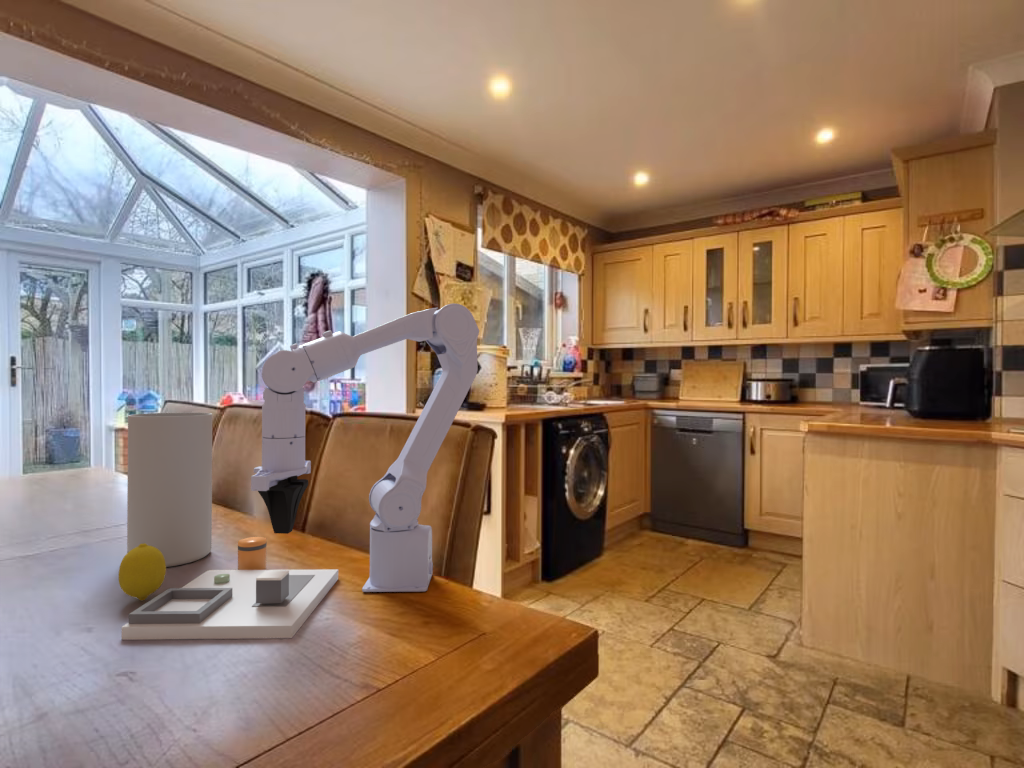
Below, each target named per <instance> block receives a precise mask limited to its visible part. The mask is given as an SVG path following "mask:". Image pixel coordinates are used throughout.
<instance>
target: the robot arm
mask: <svg viewBox="0 0 1024 768" xmlns="http://www.w3.org/2000/svg"><path fill="white" fill-rule="evenodd" d="M321 335H322V337H320V338H317V339H314V340H311V341H309V342H306V343H303V344H300V345H298V343H294V344H291V345H290V346H289V348H290V350H289V349H288V350H286V349H284V350H282V349H281V350H278V351H277V352H276V353H274V354H271V355H270V356H269V357H268V358H266V360H265V361H264V363H263V365H262V369H261V378H262V381H263V383H264V384H265V386H266V387H264V389H263V391H262V399H263V404H262V406H261V466H260V465H259V466H256V467H254V468H253V473H254V475H251V476H250V491H251V492H256V491H257V492H258V494H259V495H260V497H261V498H262V500H263V501H264V505H266V509H267V511H268V514H269V515H268V516H269V519H270V523H271V526H272V531H273V534H279V535H280V534H290V533H291V532H293V528H294V526H295V522H296V518H297V514H298V509H299V506H300V504H301V503H300V502H301V500H302V498H303V495H304V494H305V491H306V489H307V488H308V486H309V479H304V478H303V479H302V478H301V479H300V478H298V477H299V476H301V475H308V474H311V471H312V468H311V467H312V466H311V465H312V462H311V460H306V408H307V407H306V404H305V403H304V400H305V399H304V398H305V396H304V395H305V394H304V391H305V390H304V389H305V388H304V387H305V385H306V383H307V382H312V383H317V382H320V381H323V380H326V379H328V378H330V377H332V376H333V377H334V376H335V375H339V374H341V373H344V372H345V371H348V370H351V369H353V368H355V367H356V366H357V363H358V362H359V358H360V357H361V356H362V355H364V354H367V353H370V352H373V351H376V350H379V349H382V348H384V347H385V348H386V347H388V346H390V345H393V344H396V343H398V342H402V341H404V340H410V341H414V342H421V343H422V342H426V343H427V344H428V346H429V347H430V348H431V350H432V351H434V353H435V355H436V356H437V360H438V361H439V364H440V367H441V369H442V371H441V374H440V376H439V378H438V380H437V382H436V384H435V385H434V388H433V390H432V392H431V393H430V395H429V397H428V399H427V401H426V403H425V406H424V407H423V409H422V410H421V413H420V415H419V416H418V418H417V421H416V422H415V424H414V426H413V428H412V430H411V432H410V434H409V436H408V438H407V439H406V442H405V444H404V446H403V447H402V449H401V451H400V454H399V456H397V459H396V460H395V461H394V462H392V464H391V465H390V466H389V467H388V469H387V471H386V473H384V475H383V476H382V477H381V478H380V479H379V480H377V481H376V482H375V483H374V484H373V485H372V486H371V488H370V492H369V494H368V495H369V496H368V501H369V505H370V507H371V509H372V510H373V512H375V514H374V516H373V518H372V519H371V521H370V522H369V577H368V579H367V580H366V582H365V583H364V585H363V586H362V588H361V591H362V592H364V593H370V592H371V593H372V592H373V593H377V592H379V593H382V592H383V593H385V592H387V593H388V592H389V593H392V592H394V593H396V592H397V593H398V592H399V593H401V592H402V593H404V592H405V593H406V592H417V593H418V592H426V591H428V588H429V585H430V582H431V579H432V576H433V567H434V565H433V527H432V526H431V525H428V524H427V525H425V524H420V523H419V517H420V514H421V511H422V498H423V495H424V493H425V491H426V489H427V482H428V481H427V478H428V472H429V470H430V468H431V466H432V464H433V462H434V459H436V456H437V454H438V452H439V450H440V448H441V446H442V444H443V442H444V440H445V438H446V437H447V434H448V432H449V431H450V428H451V426H452V425H453V422H454V420H455V419H456V416H457V414H458V412H459V411H460V408H461V407H462V404H463V402H464V400H465V398H466V396H467V395H468V392H469V391H470V390H471V386H472V385H473V383H474V381H475V378H476V377H477V374H478V371H479V368H478V365H479V364H478V337H479V335H480V329H479V327H478V324H477V322H476V319H475V317H474V315H473V313H472V311H470V310H469V309H468V307H466V306H464V305H463V304H460V303H449V304H446V305H444V306H442V307H441V308H439V307H432V308H428V309H424V310H420V311H419V310H418V311H415V312H411V313H409V314H406V315H404V316H400V317H398V318H396V319H392V320H391V321H388V322H385V323H383V324H381V325H378V326H376V327H375V326H374V327H373V328H370V329H368V330H365V331H364V332H363V331H362V332H360V333H358V334H355V335H350V334H348V333H345V332H343V331H336V332H334V333H333V331H332V330H331V329H330V330H326V331H325V332H323V333H322V334H321Z"/></svg>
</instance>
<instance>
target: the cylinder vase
mask: <svg viewBox="0 0 1024 768" xmlns="http://www.w3.org/2000/svg"><path fill="white" fill-rule="evenodd" d="M126 495H127V504H126V506H127V508H126V509H127V510H126V511H127V512H126V513H127V514H126V516H127V518H126V519H127V521H126V524H127V526H126V527H127V529H126V532H127V533H126V535H127V536H126V538H127V539H126V540H127V541H126V542H127V543H126V545H127V546H126V554H127V553H128V552H129V551H131V550H132V549H134V548H136V547H138V546H139V545H140V544H142V543H146V544H147V545H149V546H153V547H155V548H157V549H158V550H160V551H161V553H162V554H163V556H164V559H165V563H166V568H170V567H176V566H181V565H182V566H183V565H186V564H190V563H193V562H196V561H199V560H201V559H203V558H204V557H207V556H208V555H209V553H211V551H212V546H213V545H212V544H213V543H212V540H213V539H212V538H213V537H212V533H213V531H212V529H213V528H212V525H213V524H212V523H213V519H212V518H213V517H212V516H213V515H212V513H213V505H212V504H213V413H211V412H155V413H153V412H152V413H135V414H128V415H127V494H126Z"/></svg>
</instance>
